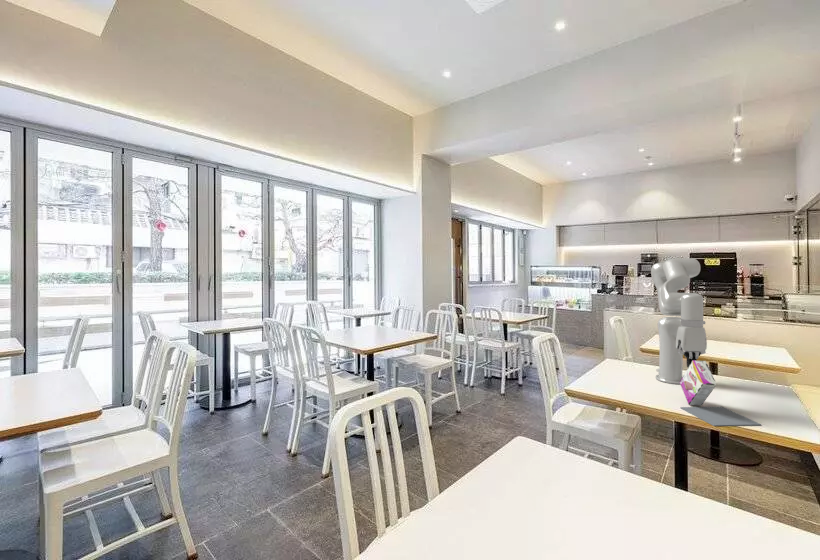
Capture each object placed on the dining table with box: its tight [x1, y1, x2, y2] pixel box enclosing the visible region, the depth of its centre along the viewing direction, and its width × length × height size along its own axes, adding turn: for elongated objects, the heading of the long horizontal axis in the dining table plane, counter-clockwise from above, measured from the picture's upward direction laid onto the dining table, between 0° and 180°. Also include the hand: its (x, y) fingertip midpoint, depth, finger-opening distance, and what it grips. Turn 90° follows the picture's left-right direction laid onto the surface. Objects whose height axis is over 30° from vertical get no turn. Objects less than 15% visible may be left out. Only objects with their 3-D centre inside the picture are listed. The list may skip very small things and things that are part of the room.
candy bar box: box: [679, 360, 718, 407], centre depth 154 cm, size 11×5×16 cm
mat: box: [680, 406, 762, 427], centre depth 145 cm, size 17×17×1 cm
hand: (691, 367), depth 158 cm, fingers closed
